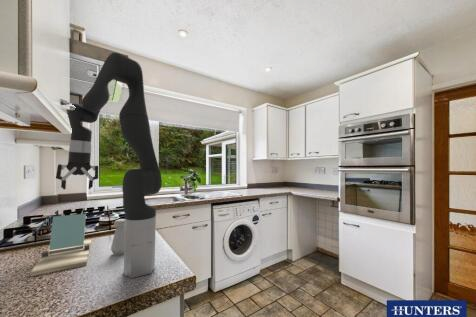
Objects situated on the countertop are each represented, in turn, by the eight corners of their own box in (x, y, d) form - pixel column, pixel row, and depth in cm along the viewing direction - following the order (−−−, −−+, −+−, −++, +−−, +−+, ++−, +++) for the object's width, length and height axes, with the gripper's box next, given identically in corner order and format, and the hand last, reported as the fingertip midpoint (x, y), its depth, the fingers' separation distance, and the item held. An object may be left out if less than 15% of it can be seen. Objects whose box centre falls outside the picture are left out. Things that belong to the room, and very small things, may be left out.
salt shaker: (120, 257, 76) (121, 222, 77) (107, 255, 77) (108, 221, 78) (131, 251, 82) (132, 218, 82) (118, 249, 83) (119, 217, 84)
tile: (83, 248, 80) (83, 248, 79) (49, 254, 75) (48, 254, 74) (85, 214, 85) (85, 213, 84) (53, 217, 79) (53, 216, 78)
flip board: (86, 265, 70) (86, 256, 70) (29, 276, 63) (30, 267, 63) (91, 241, 92) (92, 235, 92) (50, 247, 85) (50, 240, 85)
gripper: (57, 150, 81) (54, 190, 81) (100, 152, 89) (97, 189, 89) (59, 150, 87) (56, 188, 87) (99, 152, 96) (97, 187, 95)
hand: (77, 189), depth 88 cm, fingers open, 8 cm apart
